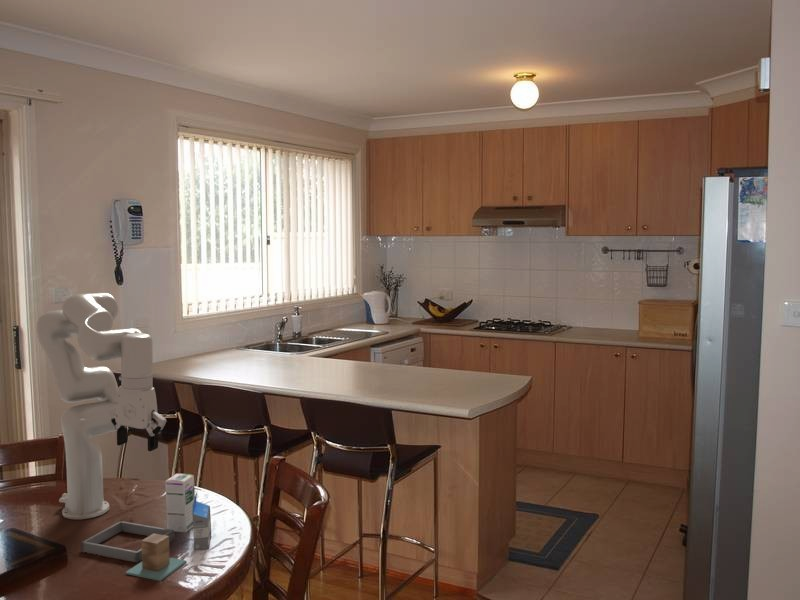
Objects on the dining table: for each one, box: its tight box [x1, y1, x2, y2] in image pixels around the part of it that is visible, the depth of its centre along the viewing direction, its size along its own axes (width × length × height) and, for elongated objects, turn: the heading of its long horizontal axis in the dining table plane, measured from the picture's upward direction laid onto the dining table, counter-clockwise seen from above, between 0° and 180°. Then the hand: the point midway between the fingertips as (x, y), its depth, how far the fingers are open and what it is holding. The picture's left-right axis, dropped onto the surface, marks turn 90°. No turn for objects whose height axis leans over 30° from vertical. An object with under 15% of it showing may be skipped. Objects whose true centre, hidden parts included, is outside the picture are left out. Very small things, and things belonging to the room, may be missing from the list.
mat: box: [125, 557, 187, 582], centre depth 175 cm, size 10×10×1 cm
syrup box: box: [165, 473, 196, 534], centre depth 198 cm, size 6×6×14 cm
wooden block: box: [141, 533, 171, 572], centre depth 175 cm, size 4×4×7 cm
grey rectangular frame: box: [80, 520, 175, 564], centre depth 187 cm, size 17×14×2 cm
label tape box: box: [192, 492, 212, 551], centre depth 189 cm, size 9×4×12 cm, turn 10°
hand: (137, 446), depth 186 cm, fingers open, 9 cm apart
